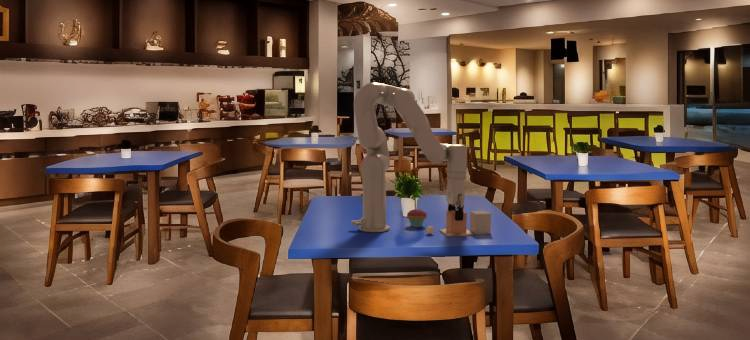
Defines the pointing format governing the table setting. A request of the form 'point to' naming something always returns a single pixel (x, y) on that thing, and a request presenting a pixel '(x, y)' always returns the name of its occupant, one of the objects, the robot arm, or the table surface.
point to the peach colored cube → (455, 223)
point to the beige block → (480, 222)
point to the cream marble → (429, 230)
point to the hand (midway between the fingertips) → (455, 218)
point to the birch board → (456, 233)
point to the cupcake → (416, 216)
